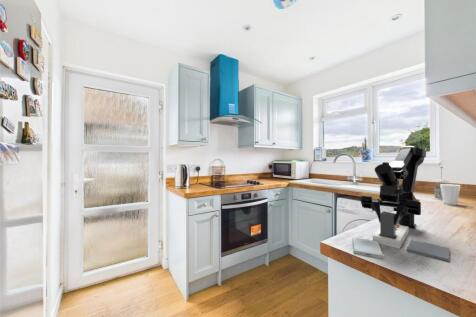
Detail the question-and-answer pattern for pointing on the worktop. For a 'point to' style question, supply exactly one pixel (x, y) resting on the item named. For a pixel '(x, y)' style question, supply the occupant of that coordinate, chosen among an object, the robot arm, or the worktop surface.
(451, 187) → the foam cup
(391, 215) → the block
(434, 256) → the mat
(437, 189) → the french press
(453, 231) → the worktop surface
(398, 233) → the power strip
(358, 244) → the hard drive
